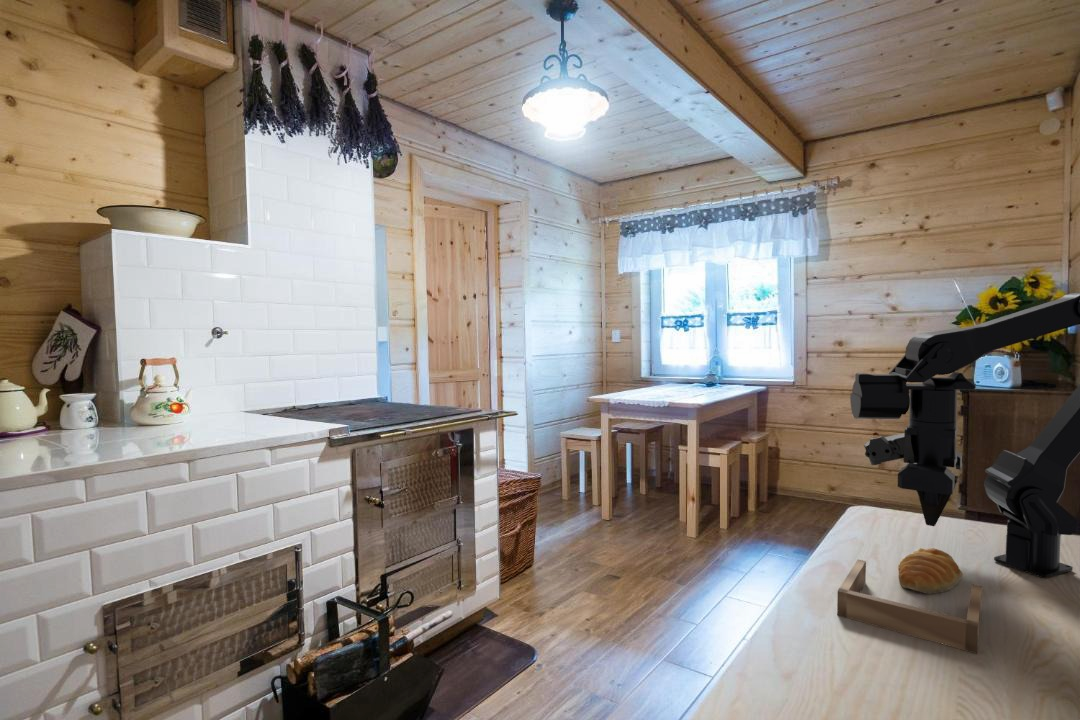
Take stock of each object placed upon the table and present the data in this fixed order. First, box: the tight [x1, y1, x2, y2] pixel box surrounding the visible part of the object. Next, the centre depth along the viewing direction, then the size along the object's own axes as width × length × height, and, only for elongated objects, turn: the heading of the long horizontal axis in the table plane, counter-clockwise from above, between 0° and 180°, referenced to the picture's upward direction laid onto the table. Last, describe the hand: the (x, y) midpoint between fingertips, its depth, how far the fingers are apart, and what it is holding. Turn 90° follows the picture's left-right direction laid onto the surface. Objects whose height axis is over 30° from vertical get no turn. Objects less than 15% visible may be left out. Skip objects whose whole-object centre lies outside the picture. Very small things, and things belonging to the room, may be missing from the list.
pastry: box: [897, 548, 964, 595], centre depth 78 cm, size 9×7×4 cm
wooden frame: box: [836, 559, 983, 654], centre depth 70 cm, size 12×14×3 cm
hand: (930, 525), depth 85 cm, fingers closed
